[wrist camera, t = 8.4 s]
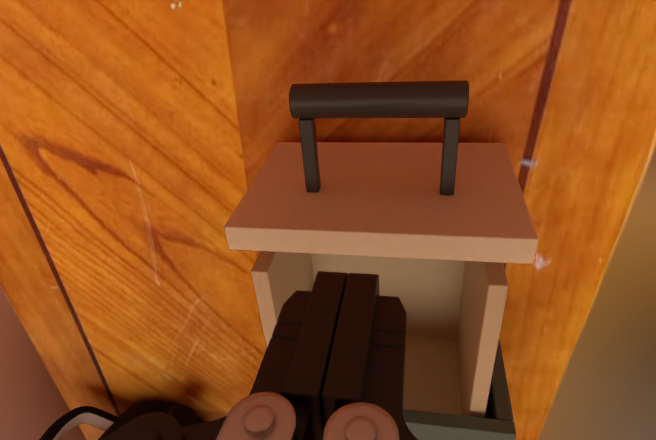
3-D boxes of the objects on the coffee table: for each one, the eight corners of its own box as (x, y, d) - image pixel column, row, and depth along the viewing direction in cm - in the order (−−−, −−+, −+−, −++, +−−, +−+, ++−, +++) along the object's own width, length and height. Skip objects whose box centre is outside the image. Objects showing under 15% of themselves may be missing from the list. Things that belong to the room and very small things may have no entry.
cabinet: (292, 276, 33) (246, 404, 25) (490, 287, 31) (516, 435, 22) (312, 409, 42) (282, 540, 33) (468, 427, 39) (481, 574, 31)
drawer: (265, 53, 24) (196, 114, 17) (519, 45, 22) (566, 111, 14) (303, 322, 34) (271, 431, 27) (476, 336, 32) (491, 458, 25)
